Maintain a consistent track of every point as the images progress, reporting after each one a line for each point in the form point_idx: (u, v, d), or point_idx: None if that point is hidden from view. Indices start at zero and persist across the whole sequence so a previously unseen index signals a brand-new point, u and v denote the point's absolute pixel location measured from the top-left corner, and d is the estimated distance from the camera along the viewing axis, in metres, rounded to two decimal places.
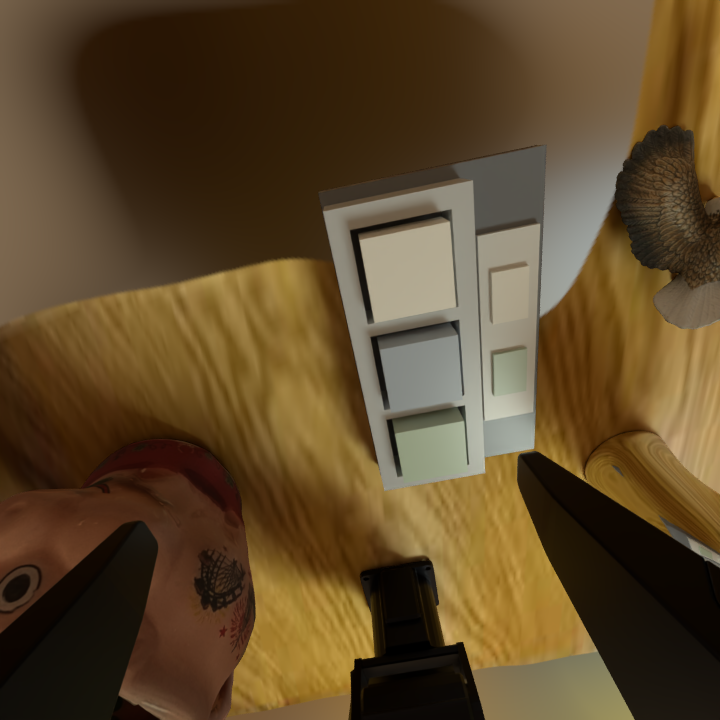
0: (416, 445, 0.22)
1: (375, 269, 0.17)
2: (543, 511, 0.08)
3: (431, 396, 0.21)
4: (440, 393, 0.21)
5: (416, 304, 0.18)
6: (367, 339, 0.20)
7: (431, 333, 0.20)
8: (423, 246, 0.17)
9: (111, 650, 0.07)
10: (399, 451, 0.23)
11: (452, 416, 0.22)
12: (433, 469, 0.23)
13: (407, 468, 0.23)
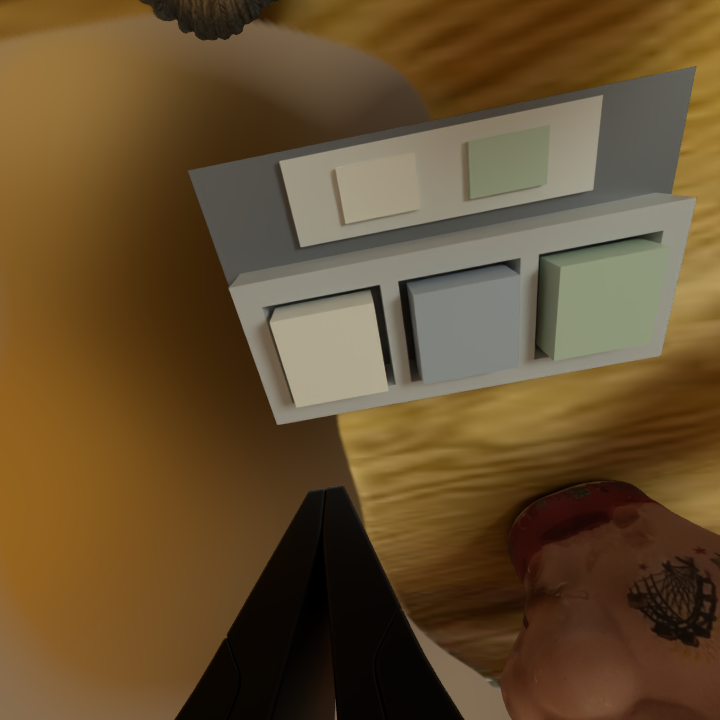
0: (584, 331, 0.15)
1: (326, 392, 0.16)
2: None
3: (504, 319, 0.15)
4: (501, 307, 0.15)
5: (368, 349, 0.15)
6: (414, 384, 0.17)
7: (413, 317, 0.15)
8: (299, 347, 0.15)
9: None
10: (587, 353, 0.16)
11: (552, 276, 0.15)
12: (641, 303, 0.15)
13: (622, 340, 0.16)
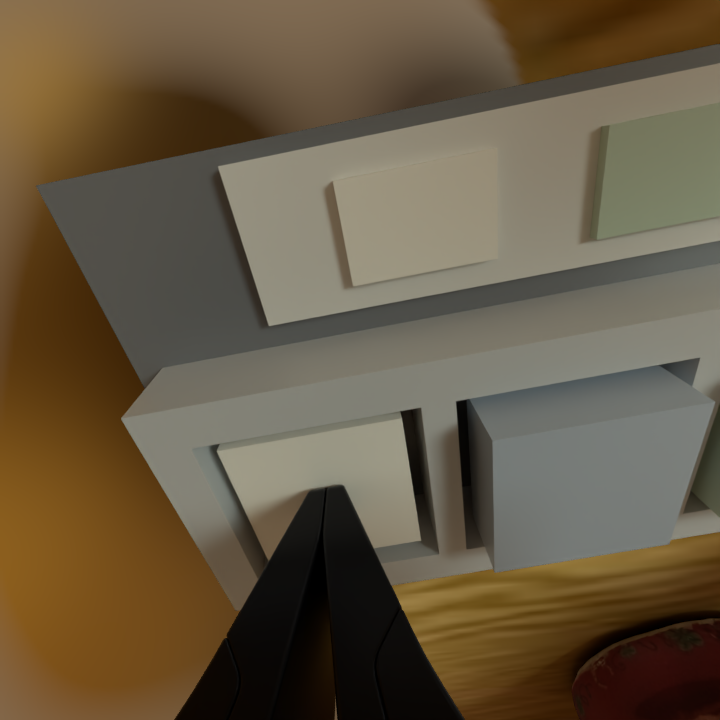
0: None
1: None
2: None
3: (663, 475, 0.08)
4: (664, 456, 0.07)
5: (389, 485, 0.09)
6: (470, 553, 0.10)
7: (481, 461, 0.08)
8: (271, 486, 0.09)
9: None
10: None
11: None
12: None
13: None
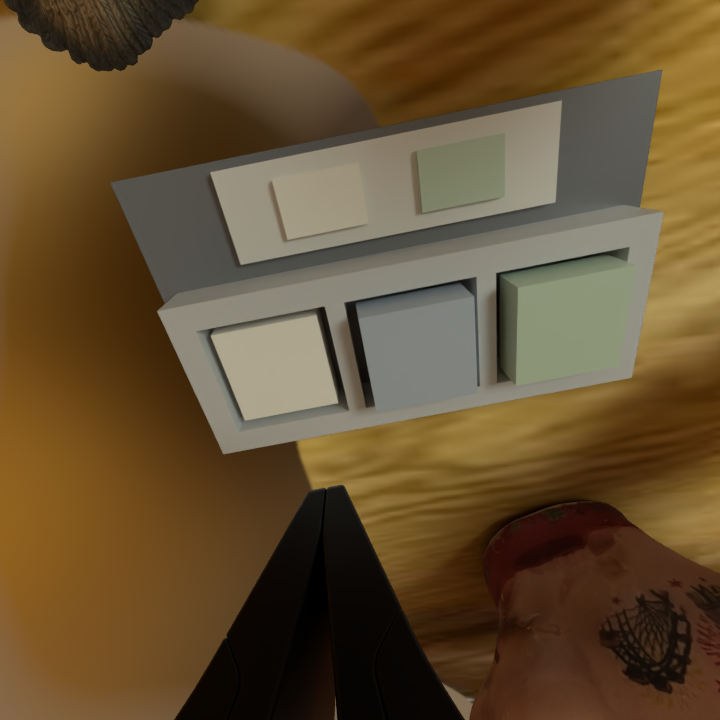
0: (547, 355, 0.14)
1: (274, 405, 0.16)
2: None
3: (459, 343, 0.14)
4: (456, 330, 0.13)
5: (314, 361, 0.15)
6: (369, 410, 0.16)
7: None
8: (243, 360, 0.15)
9: None
10: (551, 377, 0.15)
11: (510, 296, 0.14)
12: (607, 325, 0.14)
13: (589, 364, 0.15)
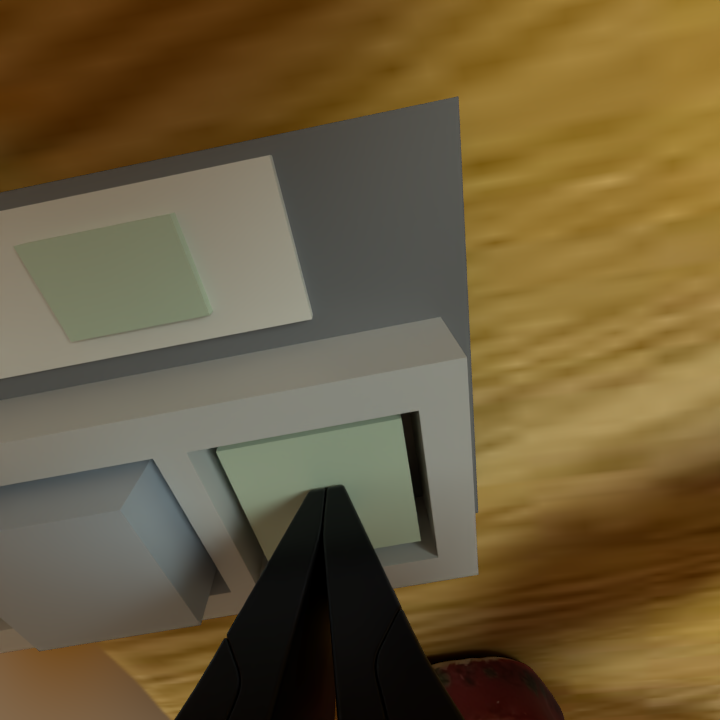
0: None
1: None
2: None
3: (130, 570, 0.08)
4: (114, 554, 0.08)
5: None
6: None
7: None
8: None
9: None
10: None
11: None
12: (383, 493, 0.09)
13: (373, 539, 0.10)
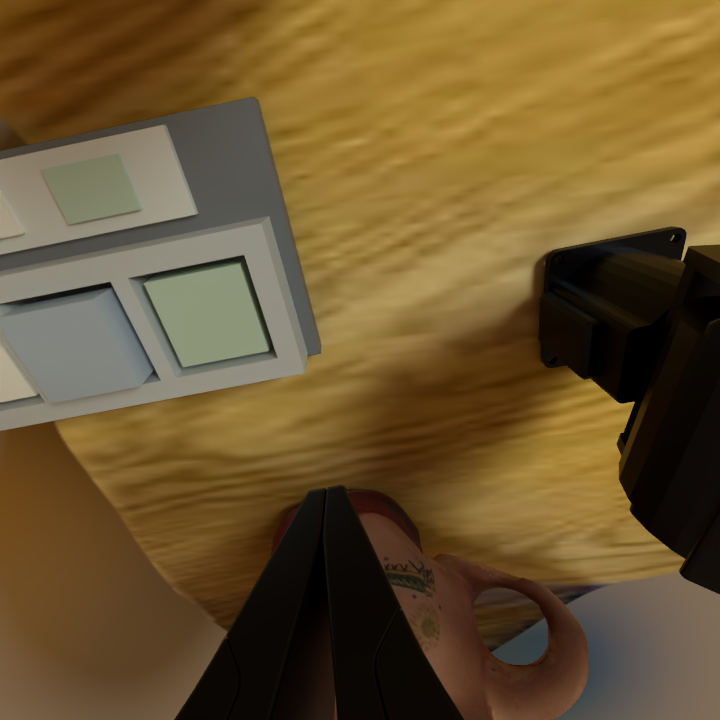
0: (198, 340, 0.17)
1: None
2: None
3: (99, 341, 0.15)
4: (90, 330, 0.15)
5: None
6: (64, 402, 0.18)
7: None
8: None
9: None
10: (212, 360, 0.17)
11: None
12: (239, 314, 0.16)
13: (240, 348, 0.17)
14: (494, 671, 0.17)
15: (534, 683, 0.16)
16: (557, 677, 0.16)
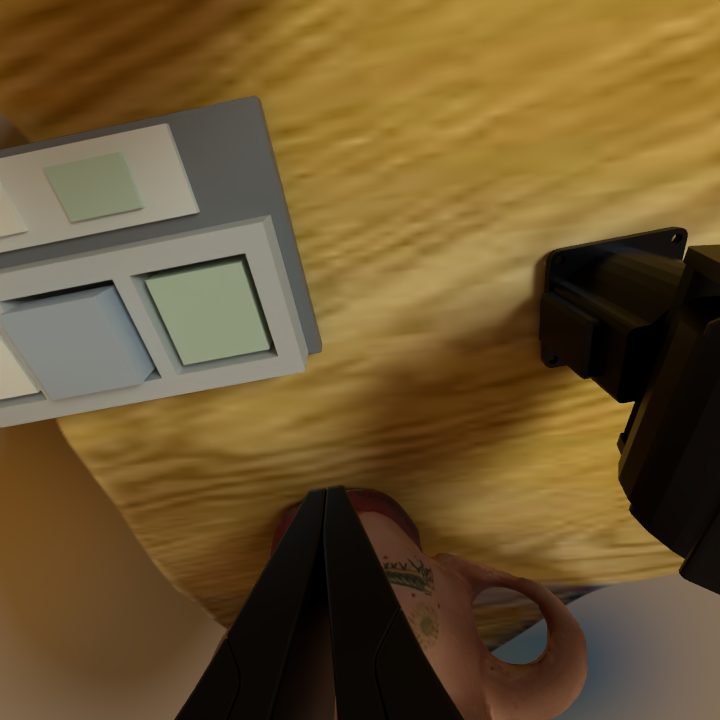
0: (199, 338, 0.17)
1: None
2: None
3: (101, 338, 0.15)
4: (92, 327, 0.15)
5: None
6: (66, 399, 0.18)
7: None
8: None
9: None
10: (212, 358, 0.17)
11: None
12: (240, 312, 0.16)
13: (241, 346, 0.17)
14: (492, 670, 0.17)
15: (533, 683, 0.16)
16: (556, 676, 0.16)
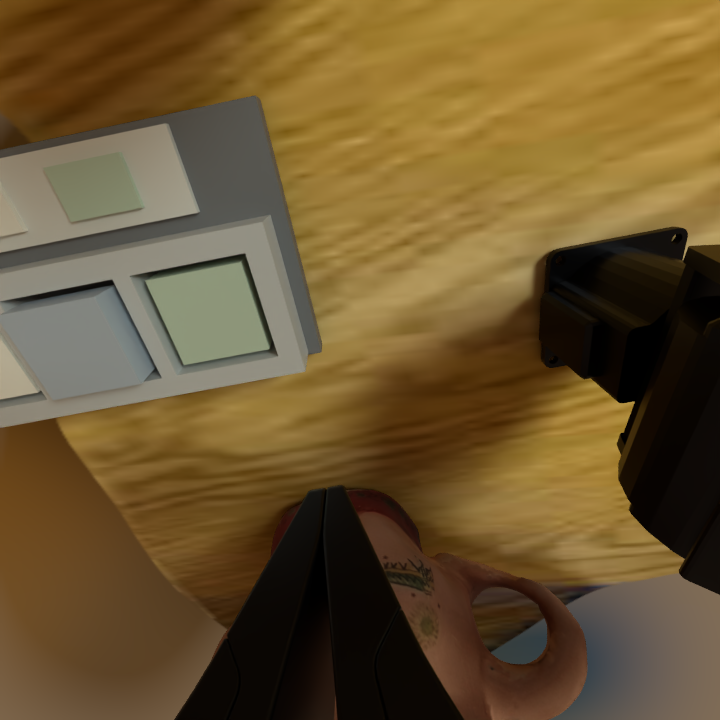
0: (199, 338, 0.17)
1: None
2: None
3: (101, 338, 0.15)
4: (92, 327, 0.15)
5: None
6: (66, 399, 0.18)
7: None
8: None
9: None
10: (212, 358, 0.17)
11: None
12: (240, 312, 0.16)
13: (241, 346, 0.17)
14: (492, 670, 0.17)
15: (533, 683, 0.16)
16: (556, 676, 0.16)
